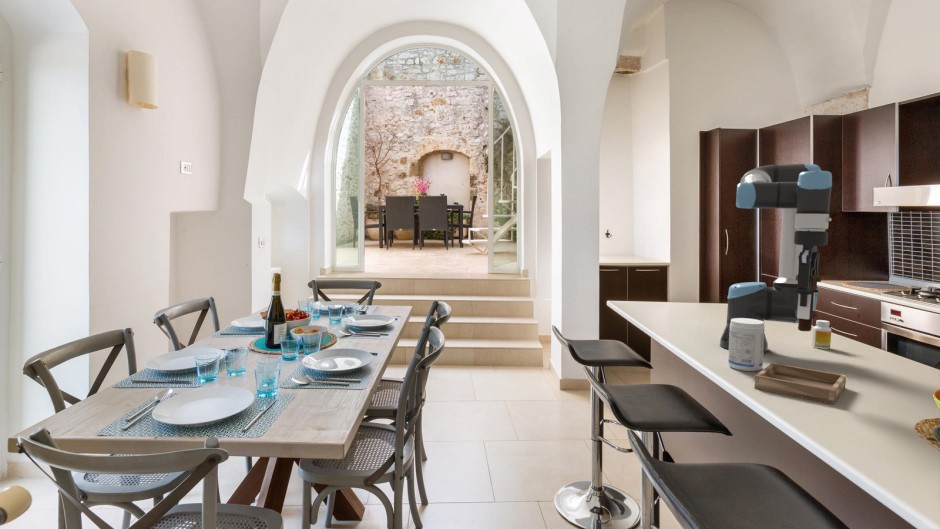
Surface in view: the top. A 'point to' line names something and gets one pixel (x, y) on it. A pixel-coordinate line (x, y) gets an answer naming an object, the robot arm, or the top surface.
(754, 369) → the supplement tub
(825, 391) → the tray
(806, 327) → the bolt
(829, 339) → the supplement bottle
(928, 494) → the top surface
